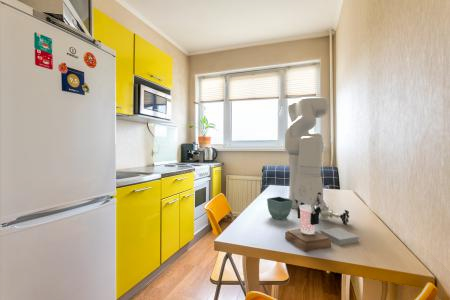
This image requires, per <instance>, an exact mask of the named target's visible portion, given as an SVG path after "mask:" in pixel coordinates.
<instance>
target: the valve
mask: <svg viewBox="0 0 450 300" xmlns="http://www.w3.org/2000/svg"><path fill="white" fill-rule="evenodd" d="M329 209H330V207H329V205H327V204H326V207H325V208H324V209H323V210H322V211H321V213H319V220H321V221H324V220H326V221H329V218H333V217H335V218H336V219H341V221H342V225H345V226H348V223H349V222H350V220H349V218H350V215H349V214H350V211H349V210H346V209H345V210H344V212H343V213H341V214H339V213H336V212H334V211H333V210H329Z"/></svg>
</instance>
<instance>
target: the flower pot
mask: <svg viewBox="0 0 450 300" xmlns="http://www.w3.org/2000/svg"><path fill="white" fill-rule="evenodd" d="M286 198H287V197H282V196H276V197H275V196H274V197H270V198H269V197H268V198H266V201H267V210H268V212H269V215H270V216H271V218H274V219H277V220H279V221H281V220H285V219H287V218H288V217H289V216H290V213H291V212H292V208H291V207H292V202H293V200H290V199H286Z"/></svg>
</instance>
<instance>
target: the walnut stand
mask: <svg viewBox="0 0 450 300" xmlns="http://www.w3.org/2000/svg"><path fill="white" fill-rule="evenodd" d="M284 233H285V234H284V236H285V237H284V239H285V240H287V241H289V242H291V243H292V244H293V245H294V246H296V247H298V248H299V249H301V250H302V251H304V252H307V253H308V252H311V251H316V250H317V251H318V250H322V249H327V248H331V247H332V241H331V240H330V239H329V238H328V237H326V236H324V235H323V234H321V232H319V231H316V230H314V234H305V233H302V232H301V228H296V229H289V230H287V231H285V232H284Z"/></svg>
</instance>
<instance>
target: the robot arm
mask: <svg viewBox="0 0 450 300" xmlns="http://www.w3.org/2000/svg"><path fill="white" fill-rule="evenodd" d="M329 104H330V103H329V102H328V99H327V98H326V97H323V96H318V97H317V96H315V97H314V96H313V97H309V96H308V97H301V98H298V99H297V101H292V102H291V103H289V104H288V107H287V109H288V111H287V112H288V115H289V119H290V121H291V123H290V124H289V126H288V127H287V128H286V130H285V133H284V151H285V153H286V154H287V155H288V165H289V166H288V167H289V189H288V190H289V192H288V196H287V197H285V198H286V199H290V200H293V202H292V207H291V209H295V210H296V209H297V219H299V220H300V209H299V206H300V205H311V209H312V213H311V219H310V224H311V225H315V226H316V225H319V224H320V213H321V211H322V210H323V209H324V208H325V207H326V205H327V204H326V202H325V201H324V186H323V183H324V182H323V177H322V175H321V174H322V159H323V152H324V146H325V145H324V140H323V136H322V134H321V133H319V132H309V131H310V130H312V129H314V127H315V126H316V124H317V119H321V118H324V117H325V116H326V115H327V114H328V112H329V109H330V105H329ZM315 207H316V209H315Z"/></svg>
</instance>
